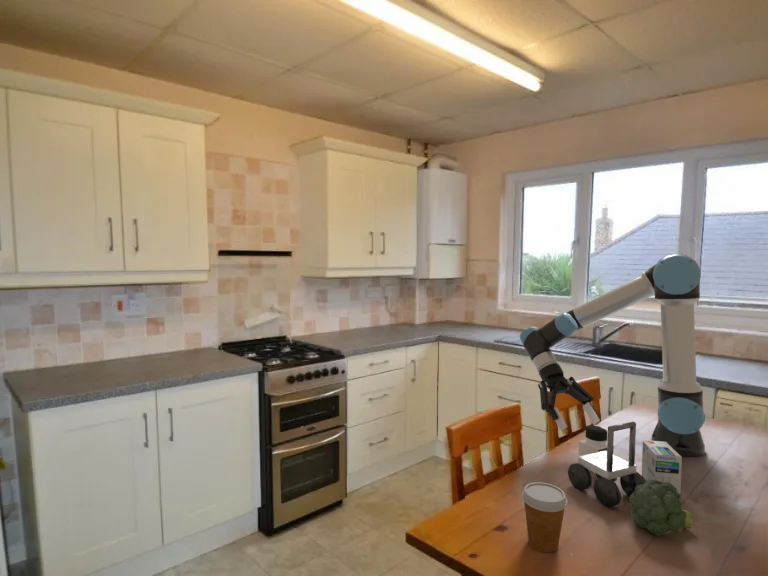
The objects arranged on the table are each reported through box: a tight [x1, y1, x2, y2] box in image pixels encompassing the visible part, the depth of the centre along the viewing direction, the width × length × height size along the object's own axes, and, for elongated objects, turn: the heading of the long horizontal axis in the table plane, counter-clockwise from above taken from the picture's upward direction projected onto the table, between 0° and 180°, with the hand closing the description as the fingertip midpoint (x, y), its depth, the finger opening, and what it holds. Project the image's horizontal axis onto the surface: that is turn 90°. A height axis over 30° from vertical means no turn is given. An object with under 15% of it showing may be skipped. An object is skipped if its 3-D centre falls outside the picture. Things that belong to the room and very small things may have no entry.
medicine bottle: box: [577, 424, 615, 458], centre depth 140 cm, size 7×7×12 cm
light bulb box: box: [641, 439, 683, 496], centre depth 128 cm, size 11×7×11 cm, turn 168°
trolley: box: [567, 421, 646, 509], centre depth 123 cm, size 11×16×21 cm
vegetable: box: [629, 479, 695, 537], centre depth 108 cm, size 12×13×15 cm
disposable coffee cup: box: [521, 481, 568, 553], centre depth 102 cm, size 10×10×12 cm
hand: (580, 425), depth 145 cm, fingers open, 13 cm apart
